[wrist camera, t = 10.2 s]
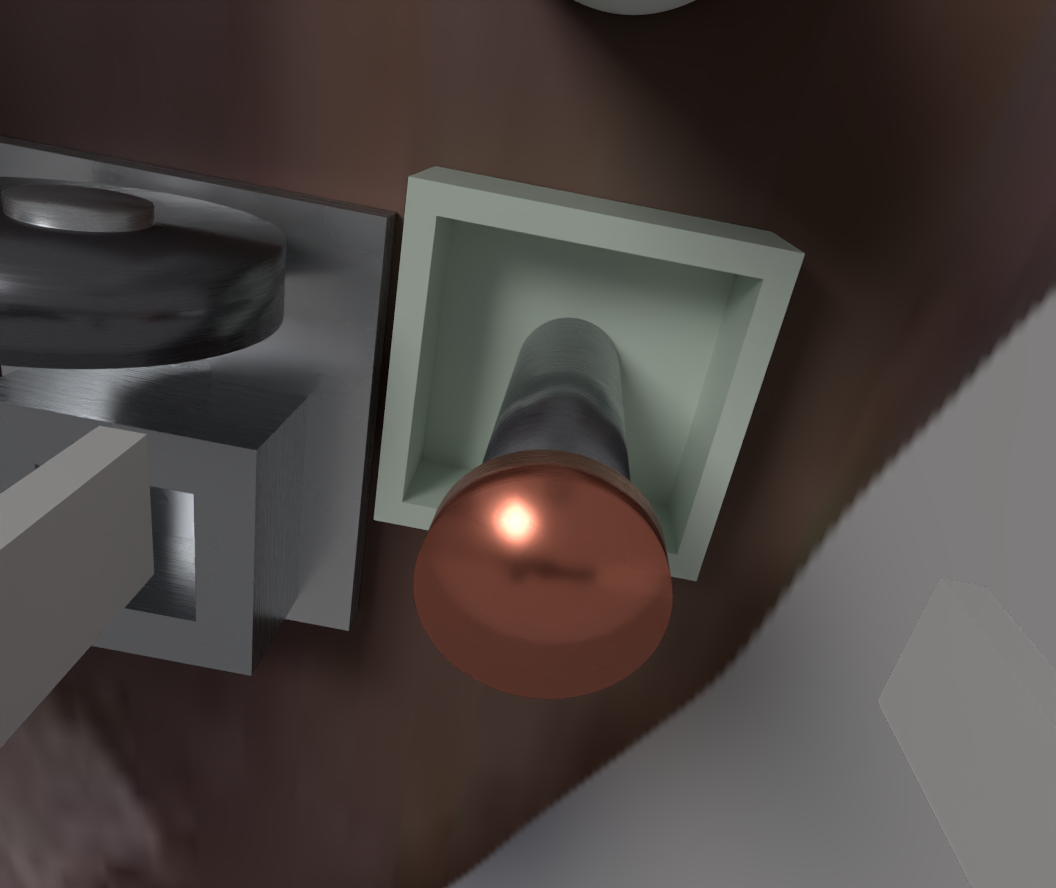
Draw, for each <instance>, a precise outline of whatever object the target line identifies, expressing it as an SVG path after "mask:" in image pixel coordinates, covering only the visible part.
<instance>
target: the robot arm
mask: <svg viewBox="0 0 1056 888" xmlns="http://www.w3.org/2000/svg"><path fill="white" fill-rule="evenodd" d="M153 575H154V560H153V540H152V521H151V501H150V482H149V462H148V443H147V434H143V433H138V432H132V431H127V430H121V429H115V428H110V427H104V426H98V427H97V428H95V429H94V430H92V431H91V432H89V433H88V434H86V435H85V436H84V437H82V438H81V439H79V440H78V441H76V442H75V443H73V444H72V445H71V446H69V447H68V448H66V449H65V450H63V451H62V452H60V453H59V454H57V455H56V456H55V457H53V458H52V459H50V460H49V461H47V462H46V463H44V464H43V465H42V466H40V467H39V468H37V469H36V470H34V471H33V472H31V473H30V474H28V475H27V476H26V477H24V478H23V479H21V480H20V481H18V482H17V483H15V484H14V485H13V486H11V487H10V488H8V489H7V490H5V491H4V492H2V493H1V494H0V749H1V747H2V746H3V745H4V744H5V743H6V742H7V741H8V739H9V738H10V737H11V736H12V735H13V734H14V733H15V732H16V730H17V729H18V728H19V727H20V726H21V725H22V724H23V722H24V721H25V720H26V719H27V718H28V717H29V716H30V715H31V713H32V712H33V711H34V710H35V709H36V708H37V707H38V705H39V704H40V703H41V702H42V701H43V700H44V699H45V697H46V696H47V695H48V694H49V693H50V692H51V691H52V690H53V688H54V687H55V686H56V685H57V684H58V683H59V682H60V680H61V679H62V678H63V677H64V676H65V675H66V674H67V672H68V671H69V670H70V669H71V668H72V667H73V666H74V665H75V663H76V662H77V661H78V660H79V659H80V658H81V657H82V655H83V654H84V653H85V652H86V651H87V650H88V649H89V648H90V646H91V645H92V644H93V643H94V642H95V641H96V640H97V638H98V637H99V636H100V635H101V634H102V633H103V632H104V630H105V629H106V628H107V627H108V626H109V625H110V624H111V623H112V621H113V620H114V619H115V618H116V617H117V616H118V615H119V613H120V612H121V611H122V610H123V609H124V608H125V607H126V605H127V604H128V603H129V602H130V601H131V600H132V599H133V598H134V596H135V595H136V594H137V593H138V592H139V591H140V590H141V588H142V587H143V586H144V585H145V584H146V583H147V582H148V581H149V579H150V578H151V577H152V576H153ZM877 702H878V704H879V706H880V708H881V710H882V712H883V714H884V716H885V718H886V720H887V722H888V724H889V726H890V728H891V730H892V732H893V734H894V736H895V738H896V740H897V742H898V744H899V745H900V747H901V749H902V752H903V754H904V755H905V757H906V759H907V761H908V763H909V765H910V767H911V769H912V771H913V773H914V775H915V777H916V779H917V781H918V783H919V785H920V787H921V789H922V791H923V793H924V795H925V797H926V799H927V801H928V803H929V805H930V807H931V809H932V811H933V813H934V815H935V817H936V819H937V821H938V822H939V824H940V826H941V828H942V830H943V832H944V834H945V836H946V838H947V840H948V842H949V844H950V846H951V848H952V850H953V852H954V854H955V856H956V858H957V860H958V862H959V864H960V866H961V868H962V870H963V872H964V874H965V876H966V878H967V880H968V882H969V884H970V886H971V888H1056V670H1055V668H1054V667H1053V666H1052V665H1051V663H1050V662H1049V661H1048V660H1047V659H1046V658H1045V656H1043V654H1042V653H1041V652H1040V651H1039V649H1038V648H1037V647H1036V646H1035V645H1034V643H1033V642H1032V641H1031V640H1030V639H1029V638H1028V636H1027V635H1026V634H1025V633H1024V632H1023V630H1022V629H1021V628H1020V627H1019V626H1018V625H1017V623H1016V622H1015V621H1014V620H1013V619H1012V618H1011V617H1010V615H1009V614H1008V613H1007V612H1006V611H1005V609H1004V608H1003V607H1002V606H1001V605H1000V603H999V602H998V601H997V600H996V599H995V597H994V596H993V595H992V594H991V593H990V592H989V590H988V589H987V588H986V587H985V586H981V585H976V584H970V583H964V582H959V581H954V580H948V579H942V578H940V579H939V581H938V583H937V585H936V587H935V589H934V591H933V593H932V595H931V597H930V599H929V601H928V603H927V605H926V606H925V608H924V611H923V613H922V614H921V617H920V618H919V621H918V622H917V624H916V626H915V628H914V630H913V632H912V634H911V636H910V638H909V640H908V642H907V644H906V646H905V648H904V650H903V652H902V654H901V656H900V658H899V660H898V662H897V664H896V666H895V668H894V670H893V672H892V674H891V675H890V677H889V680H888V681H887V684H886V686H885V688H884V689H883V691H882V693H881V695H880V697H879V699H878V701H877Z"/></svg>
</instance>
